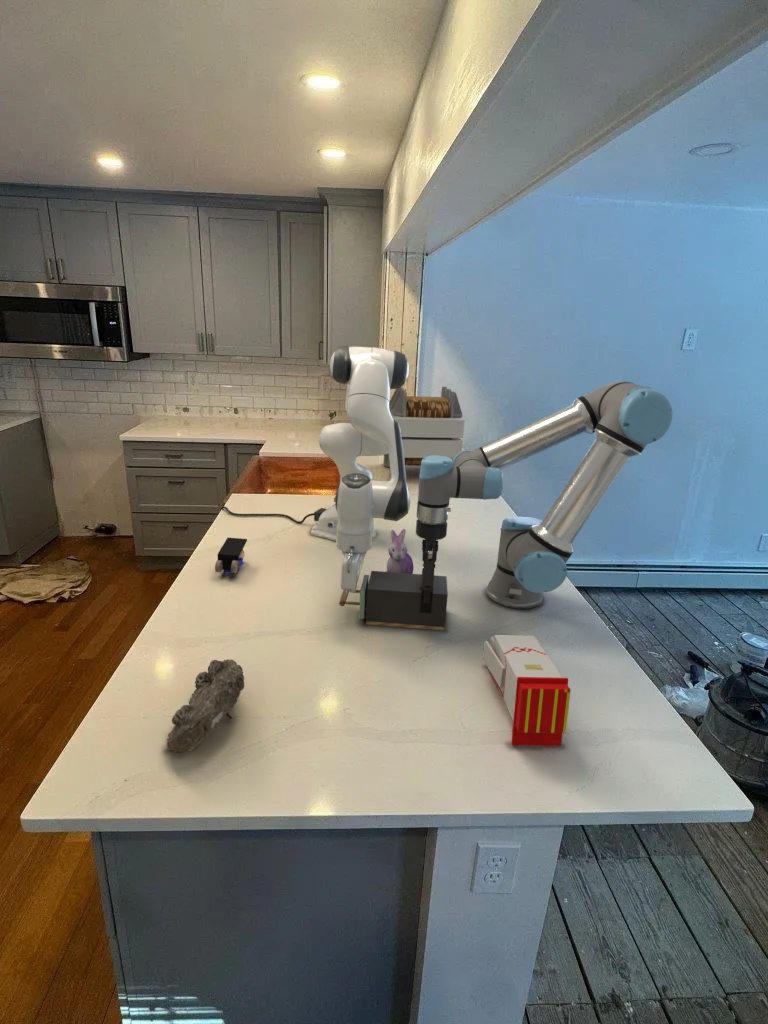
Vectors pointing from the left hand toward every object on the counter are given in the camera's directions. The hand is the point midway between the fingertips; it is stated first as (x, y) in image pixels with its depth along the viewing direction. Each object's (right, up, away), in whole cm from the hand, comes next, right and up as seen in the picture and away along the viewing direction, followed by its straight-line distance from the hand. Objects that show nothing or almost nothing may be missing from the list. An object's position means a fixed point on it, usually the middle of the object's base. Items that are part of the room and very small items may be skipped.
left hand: (353, 590), depth 145 cm
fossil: (-25, -19, -36) cm, 48 cm away
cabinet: (+14, -7, +2) cm, 15 cm away
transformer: (+25, +39, +130) cm, 138 cm away
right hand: (+19, -3, 0) cm, 19 cm away
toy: (+35, -19, -27) cm, 49 cm away
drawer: (+9, -6, +2) cm, 11 cm away
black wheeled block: (-37, +3, +23) cm, 44 cm away
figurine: (+12, 0, +23) cm, 26 cm away
